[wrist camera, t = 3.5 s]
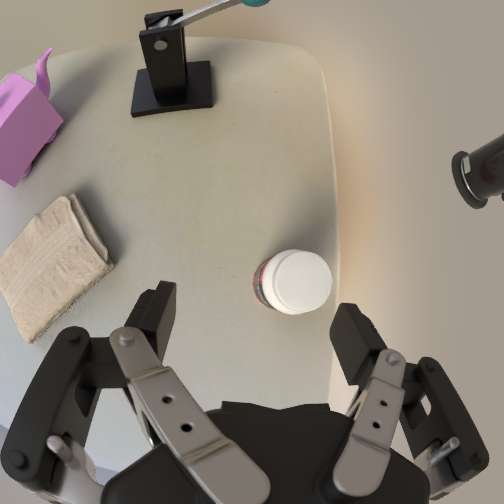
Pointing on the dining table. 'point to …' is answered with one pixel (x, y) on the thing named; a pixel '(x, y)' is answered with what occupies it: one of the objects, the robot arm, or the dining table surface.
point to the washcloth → (51, 265)
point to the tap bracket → (169, 71)
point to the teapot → (25, 121)
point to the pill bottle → (293, 282)
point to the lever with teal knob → (206, 12)
